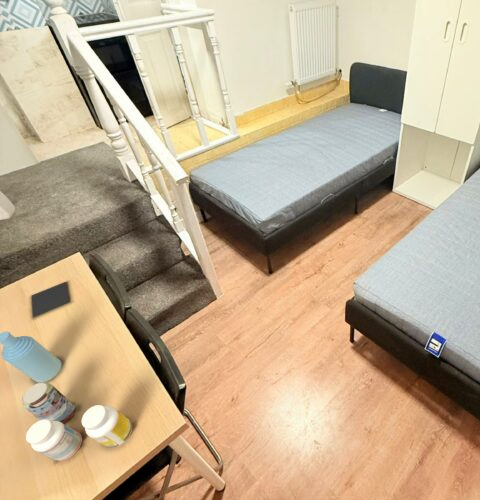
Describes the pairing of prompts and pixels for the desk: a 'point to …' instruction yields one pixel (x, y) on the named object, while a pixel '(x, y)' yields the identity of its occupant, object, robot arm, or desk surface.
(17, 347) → the water bottle
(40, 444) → the pill bottle
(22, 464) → the desk surface
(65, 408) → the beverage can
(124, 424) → the pill bottle
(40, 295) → the coaster
